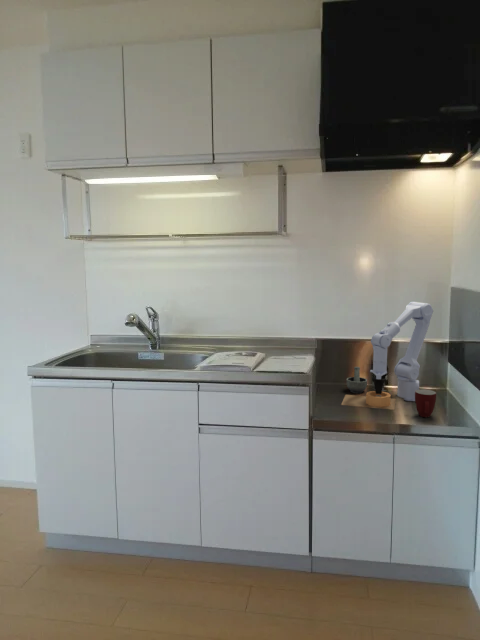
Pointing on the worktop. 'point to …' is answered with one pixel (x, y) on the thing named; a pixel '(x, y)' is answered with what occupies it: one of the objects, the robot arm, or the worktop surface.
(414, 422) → the worktop surface
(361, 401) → the shelf plate
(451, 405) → the worktop surface
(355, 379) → the mortar and pestle
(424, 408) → the mug
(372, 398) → the orange notched ring
